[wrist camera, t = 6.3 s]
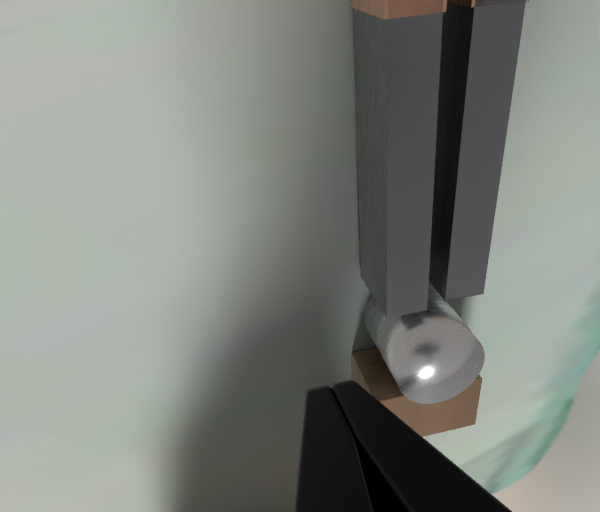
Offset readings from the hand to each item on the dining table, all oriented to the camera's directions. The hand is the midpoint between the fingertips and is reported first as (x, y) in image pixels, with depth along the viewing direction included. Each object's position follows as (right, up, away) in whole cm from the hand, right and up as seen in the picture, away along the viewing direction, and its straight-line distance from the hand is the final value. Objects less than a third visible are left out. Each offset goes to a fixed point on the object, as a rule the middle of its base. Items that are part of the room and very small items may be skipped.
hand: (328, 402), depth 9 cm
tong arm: (+2, +7, +10) cm, 13 cm away
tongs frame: (+4, +4, +13) cm, 14 cm away
